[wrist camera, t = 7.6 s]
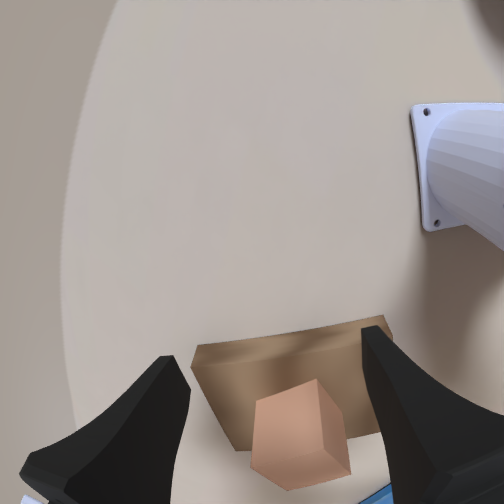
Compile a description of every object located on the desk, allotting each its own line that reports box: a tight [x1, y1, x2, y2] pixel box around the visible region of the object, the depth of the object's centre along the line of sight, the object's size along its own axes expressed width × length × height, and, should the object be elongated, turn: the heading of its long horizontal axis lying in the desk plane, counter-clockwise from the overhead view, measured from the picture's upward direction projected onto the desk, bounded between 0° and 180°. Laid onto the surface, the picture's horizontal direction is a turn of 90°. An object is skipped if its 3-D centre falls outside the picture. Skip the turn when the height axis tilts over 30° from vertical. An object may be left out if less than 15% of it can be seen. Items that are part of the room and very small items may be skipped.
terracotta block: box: [251, 379, 351, 491], centre depth 19 cm, size 5×5×6 cm
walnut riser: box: [191, 315, 393, 451], centre depth 23 cm, size 14×12×2 cm
